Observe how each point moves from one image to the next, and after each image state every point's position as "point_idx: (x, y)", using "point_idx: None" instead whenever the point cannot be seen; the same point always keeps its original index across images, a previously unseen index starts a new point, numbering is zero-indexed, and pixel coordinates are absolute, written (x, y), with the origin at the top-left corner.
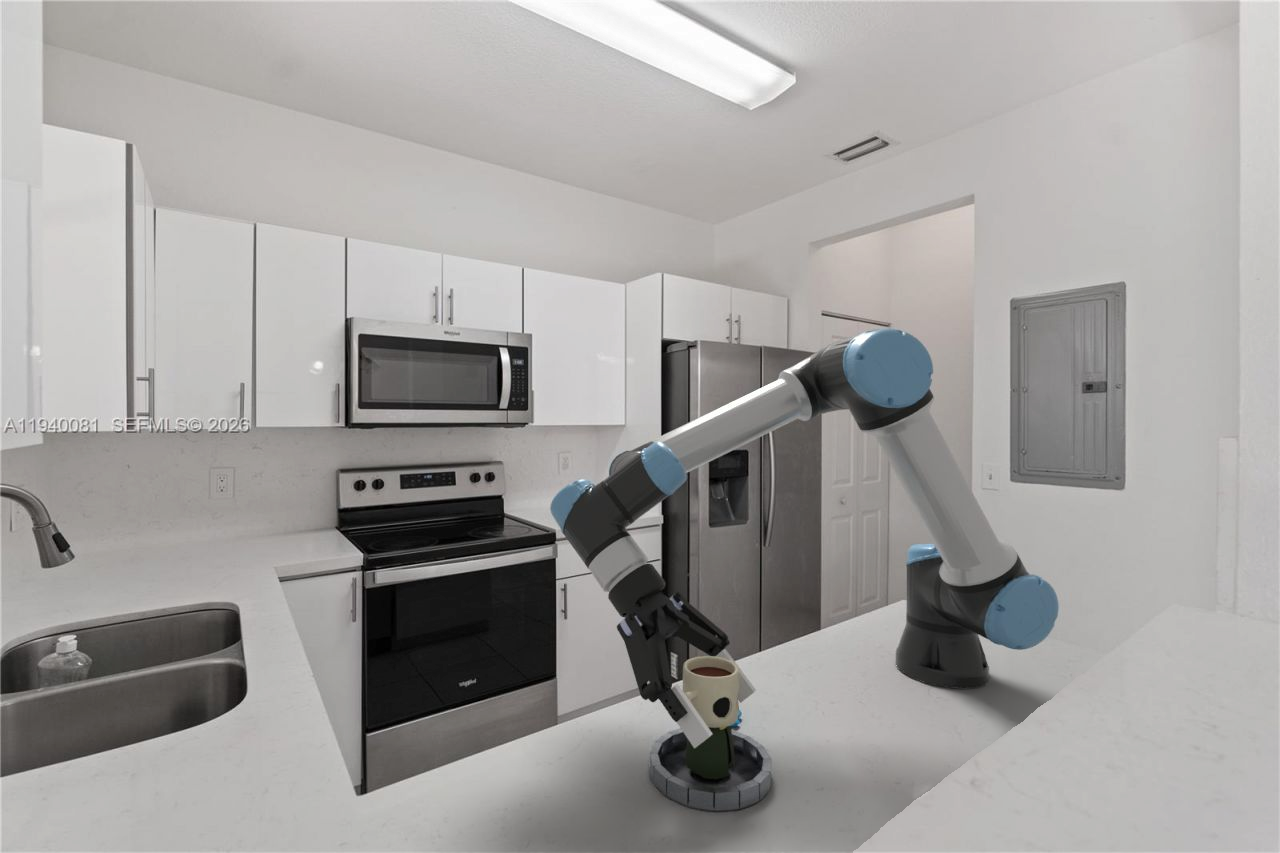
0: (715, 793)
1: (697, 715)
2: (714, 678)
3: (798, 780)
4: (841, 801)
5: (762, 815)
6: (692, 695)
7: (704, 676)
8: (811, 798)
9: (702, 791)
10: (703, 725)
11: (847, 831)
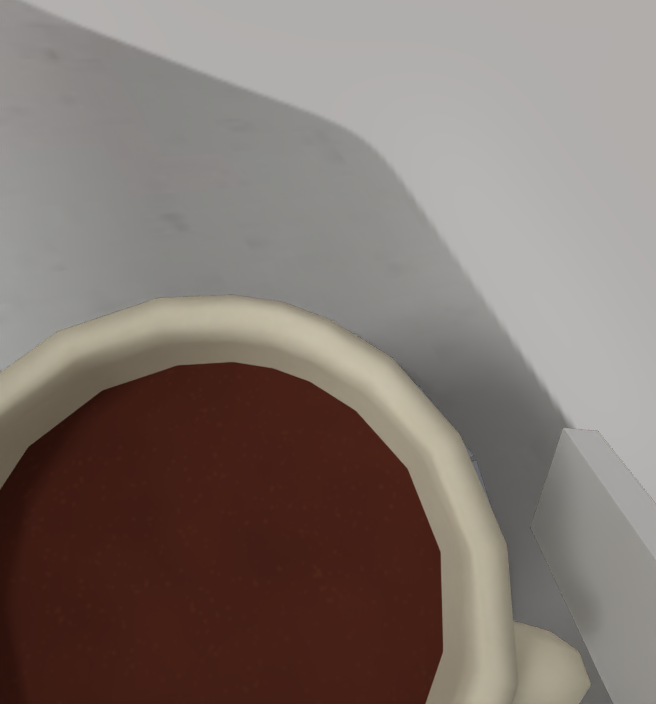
0: (471, 454)
1: (638, 511)
2: (464, 445)
3: (157, 282)
4: (212, 167)
5: (386, 337)
6: (524, 633)
7: (482, 557)
8: (236, 235)
9: (488, 500)
10: (615, 468)
11: (334, 144)
